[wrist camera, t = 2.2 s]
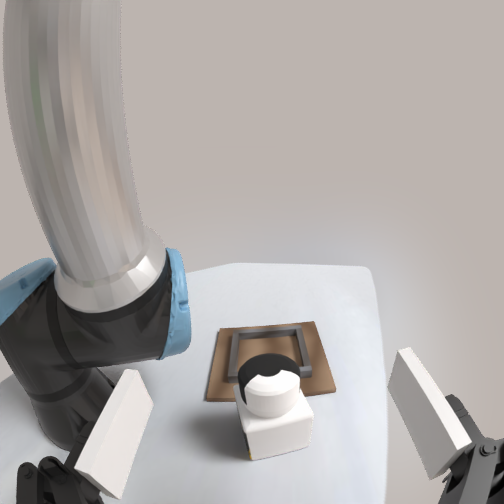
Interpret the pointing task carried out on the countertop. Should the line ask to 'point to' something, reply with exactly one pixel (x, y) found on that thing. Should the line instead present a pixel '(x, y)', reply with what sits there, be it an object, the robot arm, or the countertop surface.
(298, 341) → the dock
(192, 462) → the countertop surface
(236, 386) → the medicine bottle
